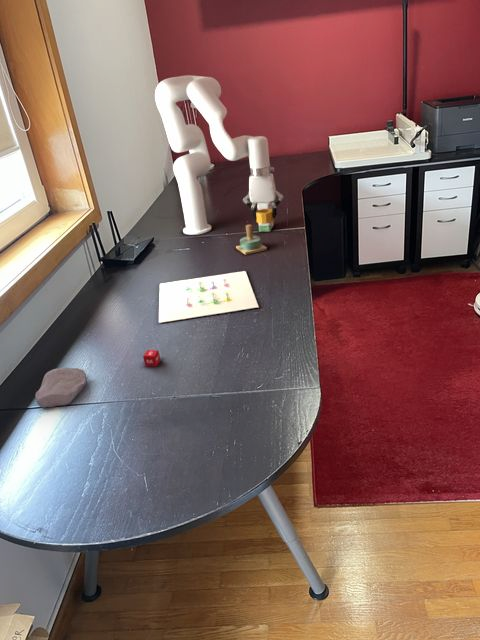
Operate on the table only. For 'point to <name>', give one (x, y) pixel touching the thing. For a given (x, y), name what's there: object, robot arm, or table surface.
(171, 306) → the printed paper
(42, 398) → the stone block
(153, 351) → the dice
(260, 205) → the ink box
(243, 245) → the stacking peg
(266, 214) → the ring
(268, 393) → the table surface
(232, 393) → the table surface
